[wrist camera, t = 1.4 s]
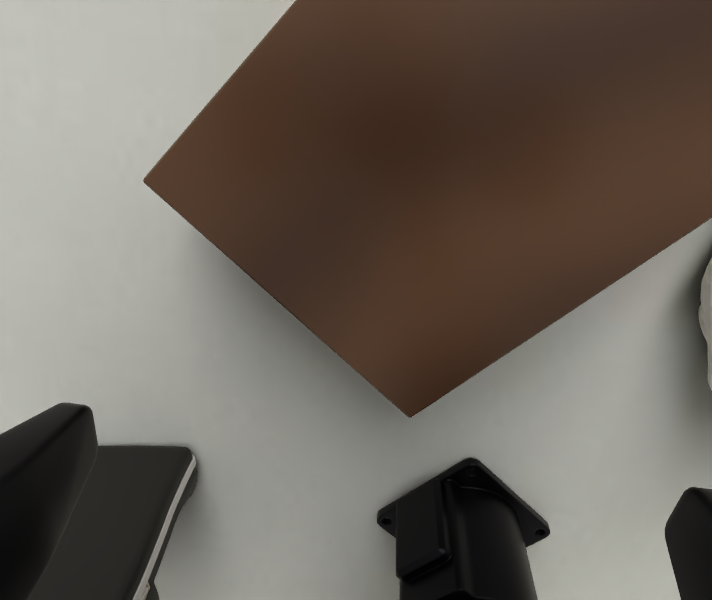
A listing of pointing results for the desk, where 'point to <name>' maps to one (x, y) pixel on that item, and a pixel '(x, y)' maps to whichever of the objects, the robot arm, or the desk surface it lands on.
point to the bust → (707, 315)
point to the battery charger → (120, 525)
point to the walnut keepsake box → (450, 169)
